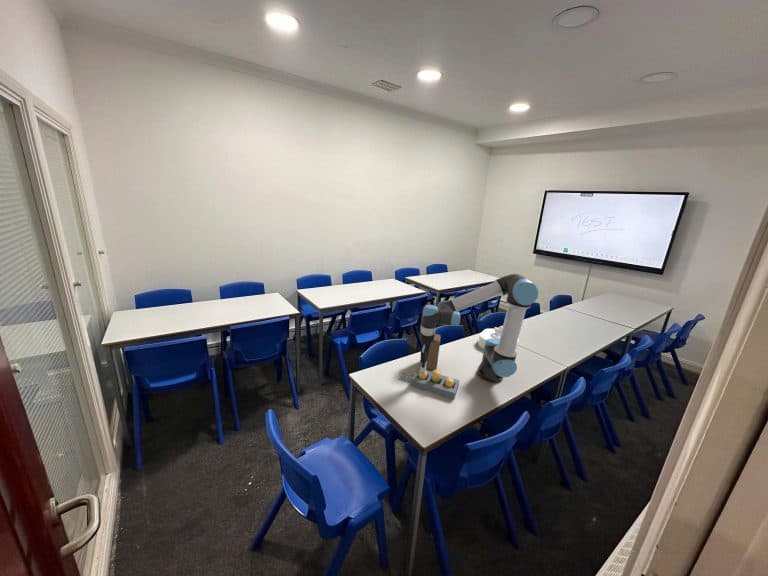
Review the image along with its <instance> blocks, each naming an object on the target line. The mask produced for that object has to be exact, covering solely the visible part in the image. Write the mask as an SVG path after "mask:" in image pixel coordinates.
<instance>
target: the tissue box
mask: <svg viewBox="0 0 768 576" xmlns="http://www.w3.org/2000/svg"><path fill="white" fill-rule="evenodd" d="M502 328H503V325H500V326H499V327H496V326H494V328H485V329H483V330H482V332H480V334H479V336H478V337H479V338H478V346H479V347H480V348H482V350H484V346H485V342H486V340H487V339H490V338H494V339H500V336H501V332H502ZM519 340H520V339H519V337H518V340H517V344H516V347H515V351H516V352H517V350H518V348H519V347H518V346H519V343H520V342H519Z"/></svg>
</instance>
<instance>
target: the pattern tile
mask: <svg viewBox="0 0 768 576" xmlns="http://www.w3.org/2000/svg"><path fill="white" fill-rule="evenodd" d="M414 375H415V374H414ZM414 375H413V374H411V373H407V372H403V373H402V374H401V376H399V380H400V381H403V382H407V383H410V384H411V380H412V378H413V377H414Z"/></svg>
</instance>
